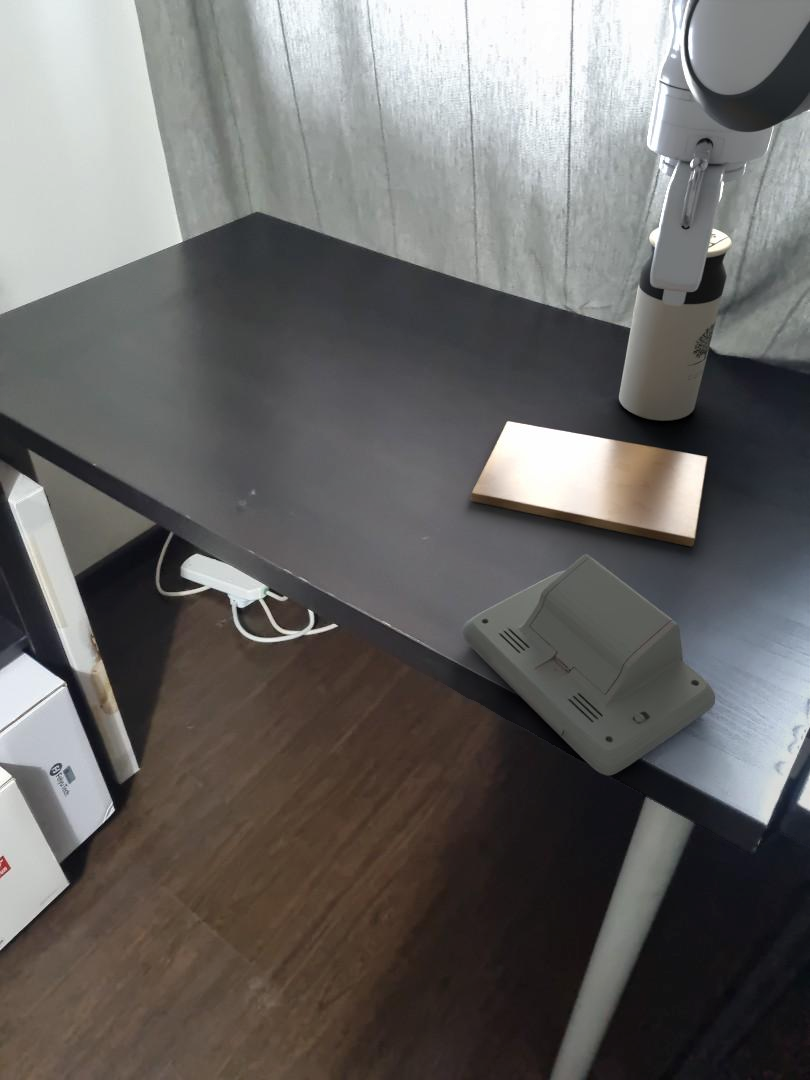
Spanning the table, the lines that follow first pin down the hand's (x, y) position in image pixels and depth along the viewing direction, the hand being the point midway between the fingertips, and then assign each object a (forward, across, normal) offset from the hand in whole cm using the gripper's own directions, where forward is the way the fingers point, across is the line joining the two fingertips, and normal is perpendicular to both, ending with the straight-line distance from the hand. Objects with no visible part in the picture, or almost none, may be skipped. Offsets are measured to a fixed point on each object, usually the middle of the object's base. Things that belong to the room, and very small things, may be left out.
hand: (674, 298), depth 71 cm
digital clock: (+13, -25, -3) cm, 29 cm away
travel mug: (+17, +11, 0) cm, 20 cm away
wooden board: (+17, -6, +4) cm, 18 cm away
